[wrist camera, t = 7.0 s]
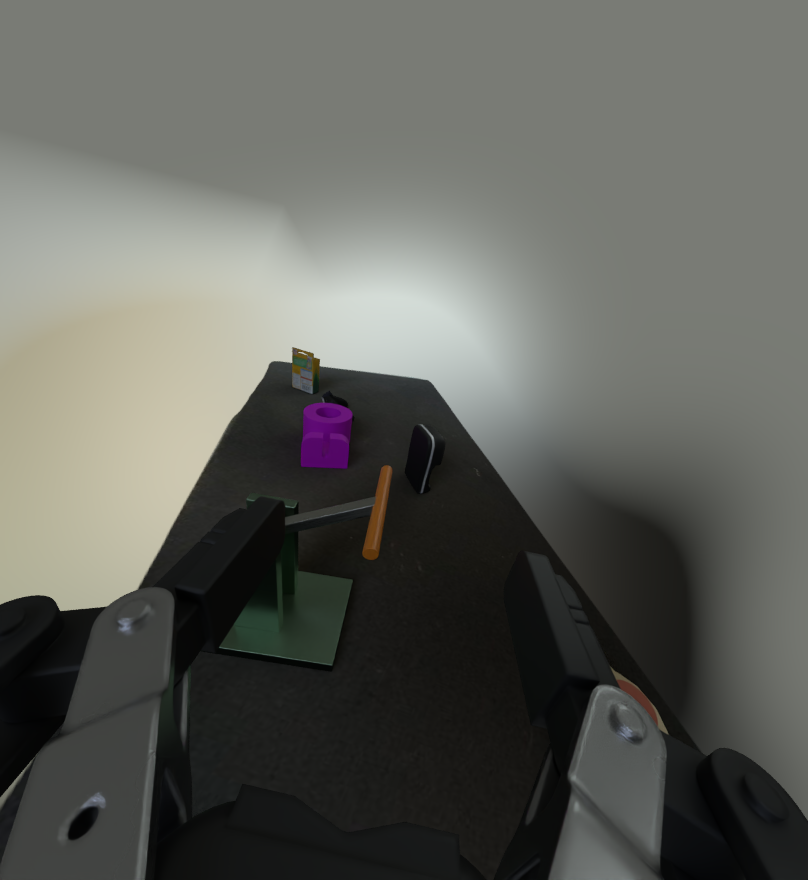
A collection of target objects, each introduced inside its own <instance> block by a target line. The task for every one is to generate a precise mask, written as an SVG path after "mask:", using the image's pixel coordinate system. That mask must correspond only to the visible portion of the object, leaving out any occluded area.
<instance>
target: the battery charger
mask: <svg viewBox="0 0 808 880" xmlns="http://www.w3.org/2000/svg"><path fill="white" fill-rule="evenodd" d="M444 450H445V440H444V438H443V437H442V435H441V434H440V433H439V432H438V431H437V430H436V429H435V428H434V427H433V426H431V425H422V424H419V425H416V426H415V427H414V430H413V433H412V438H411V443H410V448H409V453H408V459H407V464H406V468H405V474H406V476H407V478H408V479H409V481H410V483H411V484H412V486H413V487H414V489H415V490H416V492H417V493H423V492H428V491H430V489H431V486H430V484H429V477H430V474H431V471H432V469H433V468H434V467H435V465H440V464H441V461H442V458H443V454H444Z"/></svg>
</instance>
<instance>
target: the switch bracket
mask: <svg viewBox="0 0 808 880" xmlns="http://www.w3.org/2000/svg"><path fill="white" fill-rule="evenodd" d="M260 496H263V497H268V498H272V499H277V500H282V501H284V503H285V517H288V516H293V515H297V514H298V501H296V500H290V499H285V498H279V497H273V496H267V495H262V494H256V493H251V494H250V495H249V496H248V498H247V499H246V504H247V509H248V508H249V507H250V506H251V504H252V503H253V502H254V501H255V500H256V499H257V498H258V497H260ZM352 582H353V580H351V579H345V578H339V577H333V576H327V575H321V574H315V573H309V572H302V571H298V531H297V532H293V533H288V534H285V540H284V544H283V546H282V549H281V551H280V553H279V555H278V556H277V558H276V559H275V561H274V563H273V564H272V566H271V567H270V569H269V570H268V572H267V573H266V575H265V577H264V578H263V580H262V581H261V583H260V584H259V586H258V587H257V589H256V591H255V592H254V594H253V595H252V597H251V598H250V600H249V601H248V603H247V605H246V606H245V608H244V609H243V611H242V612H241V614H240V615H239V617H238V619H237V620H236V622H235V623H234V625H233V626H232V628H231V629H230V631H229V633H228V634H227V636H226V637H225V639H224V640H223V642H222V644H221V645H220V647H219V648H218V650H217V651H216V654H222V655H229V656H235V657H241V658H248V659H254V660H261V661H267V662H273V663H280V664H286V665H293V666H299V667H305V668H312V669H318V670H325V671H332V669H333V664H334V660H335V656H336V652H337V647H338V643H339V639H340V635H341V630H342V626H343V622H344V618H345V613H346V609H347V605H348V601H349V596H350V592H351V588H352ZM200 651H203V650H200ZM203 652H207V651H203ZM209 653H212V652H209Z"/></svg>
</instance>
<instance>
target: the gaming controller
mask: <svg viewBox="0 0 808 880" xmlns="http://www.w3.org/2000/svg"><path fill="white" fill-rule="evenodd" d="M322 400H323V403H332V404H338V405H341V406H344V407H347V405H348V403H347V402H346V401H345V400H344V399H342V398H339V397H336V396H333V395H332V394H331V393H330V391H328V392H326V394H324V395H323V396H322ZM353 420H354V416H353V415H352V422H353Z"/></svg>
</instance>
